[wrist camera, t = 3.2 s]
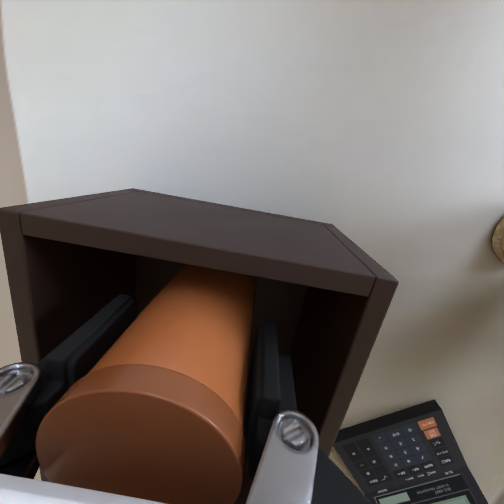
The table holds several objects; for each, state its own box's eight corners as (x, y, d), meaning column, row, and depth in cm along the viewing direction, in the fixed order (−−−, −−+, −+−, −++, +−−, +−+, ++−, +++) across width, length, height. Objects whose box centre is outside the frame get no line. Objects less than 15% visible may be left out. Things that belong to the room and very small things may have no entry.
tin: (187, 233, 16) (20, 371, 5) (264, 247, 16) (260, 414, 5) (181, 301, 18) (45, 514, 7) (251, 314, 18) (227, 547, 7)
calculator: (434, 399, 21) (461, 436, 18) (472, 483, 24) (500, 526, 21) (329, 434, 23) (338, 472, 20) (376, 507, 25) (390, 550, 23)
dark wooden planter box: (131, 188, 17) (-6, 208, 8) (333, 224, 17) (400, 280, 8) (129, 361, 21) (41, 485, 13) (286, 389, 21) (299, 532, 13)
